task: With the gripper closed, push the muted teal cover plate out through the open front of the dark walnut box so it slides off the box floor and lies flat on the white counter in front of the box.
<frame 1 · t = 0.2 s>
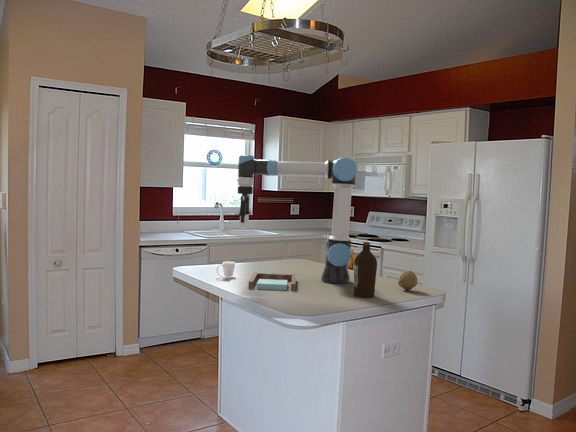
hand: (244, 228, 260), 27 cm above the table, fingers open, 13 cm apart
natural sponge: (408, 291, 256), on the table
cover plate: (272, 286, 248), point 1 cm above the table, touching walnut box
cup: (225, 278, 271), on the table
walnut box: (273, 286, 253), on the table
olive oil: (363, 296, 240), on the table
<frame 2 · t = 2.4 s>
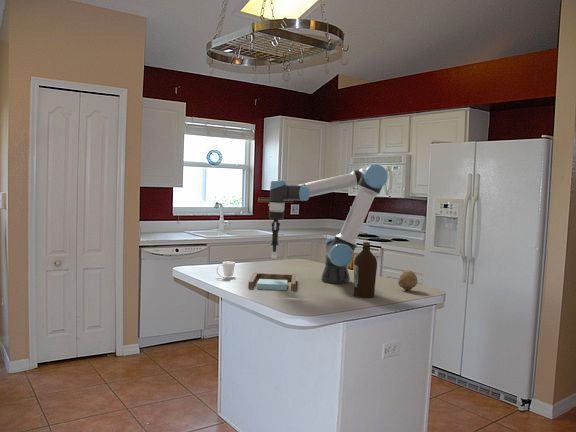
hand: (274, 257, 259), 13 cm above the table, fingers closed
nothing on the table moved.
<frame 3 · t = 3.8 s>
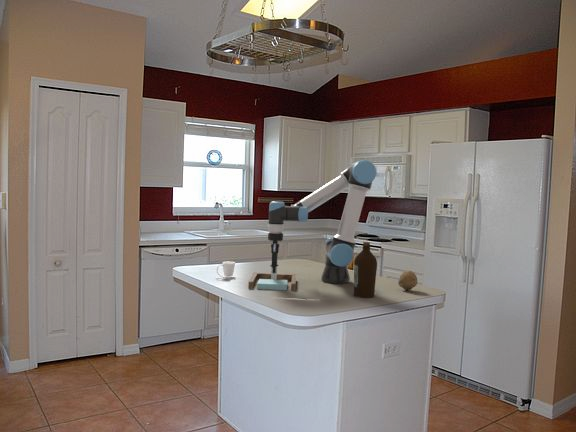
hand: (273, 279, 259), 2 cm above the table, fingers closed
nothing on the table moved.
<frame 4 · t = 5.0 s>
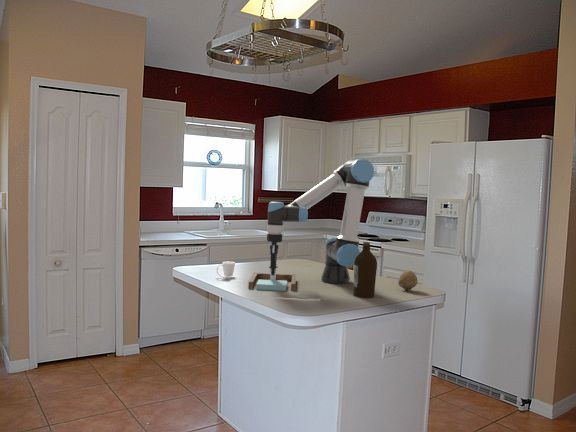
hand: (272, 281, 253), 3 cm above the table, fingers closed
cover plate: (272, 287, 246), point 1 cm above the table, touching gripper, walnut box
everything else where it was.
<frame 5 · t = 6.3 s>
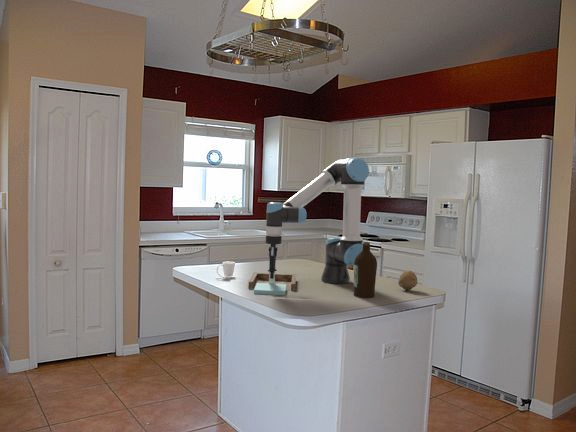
hand: (271, 284, 243), 3 cm above the table, fingers closed
cover plate: (270, 292, 237), on the table
everything else where it was.
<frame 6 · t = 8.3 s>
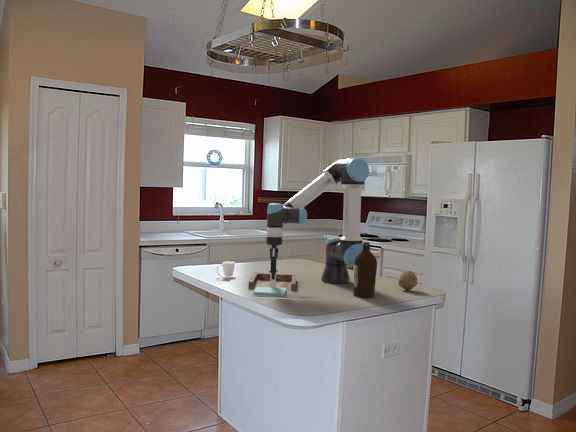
hand: (272, 285, 244), 2 cm above the table, fingers closed
cover plate: (270, 295, 235), on the table
everything else where it was.
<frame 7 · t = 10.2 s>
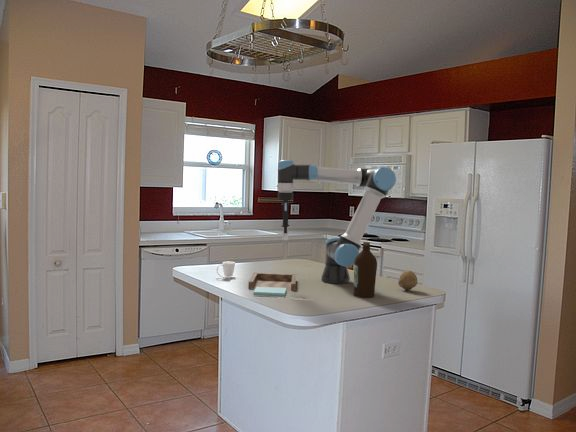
hand: (285, 239, 254), 23 cm above the table, fingers closed
nothing on the table moved.
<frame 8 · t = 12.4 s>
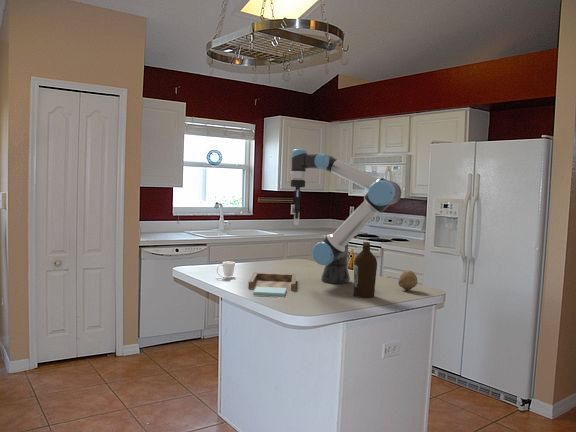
hand: (296, 224, 269), 29 cm above the table, fingers closed
nothing on the table moved.
at the end: cover plate inside the target area (5.3 cm from its centre), on the table; cover plate touching table; cover plate tilted 0° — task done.
